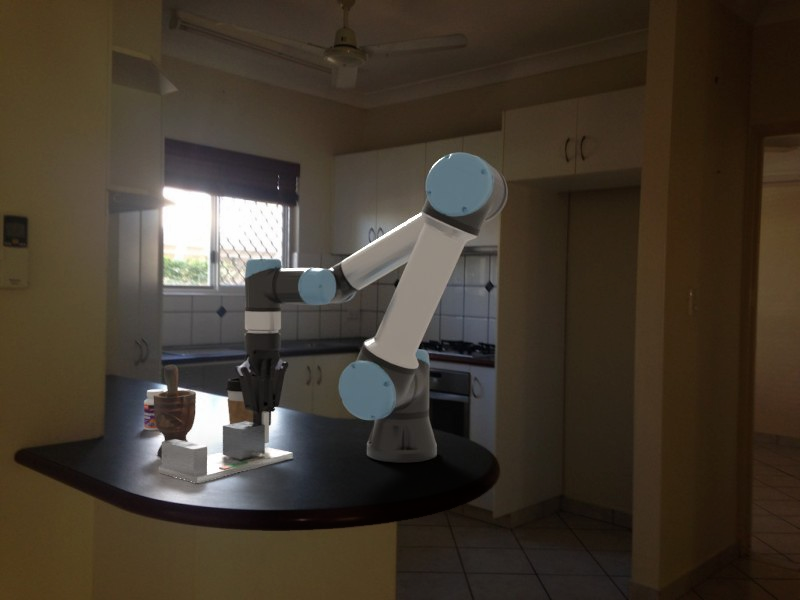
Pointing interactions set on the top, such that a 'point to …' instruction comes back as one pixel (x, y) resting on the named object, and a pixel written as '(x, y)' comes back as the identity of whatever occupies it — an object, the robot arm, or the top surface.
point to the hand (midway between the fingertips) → (261, 441)
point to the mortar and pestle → (174, 408)
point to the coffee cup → (237, 403)
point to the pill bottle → (150, 410)
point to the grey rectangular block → (243, 440)
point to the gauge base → (210, 461)
